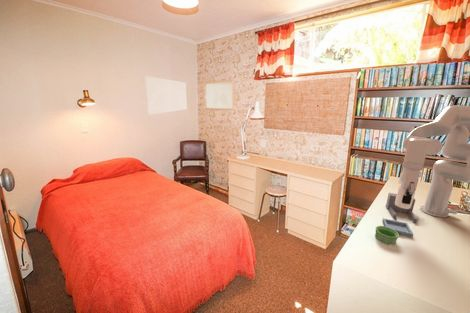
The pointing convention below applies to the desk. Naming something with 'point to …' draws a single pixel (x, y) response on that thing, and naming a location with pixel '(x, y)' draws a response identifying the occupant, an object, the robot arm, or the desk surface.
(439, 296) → the desk surface
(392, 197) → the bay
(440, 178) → the robot arm
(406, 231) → the tray
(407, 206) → the can
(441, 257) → the desk surface
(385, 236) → the ramekin
